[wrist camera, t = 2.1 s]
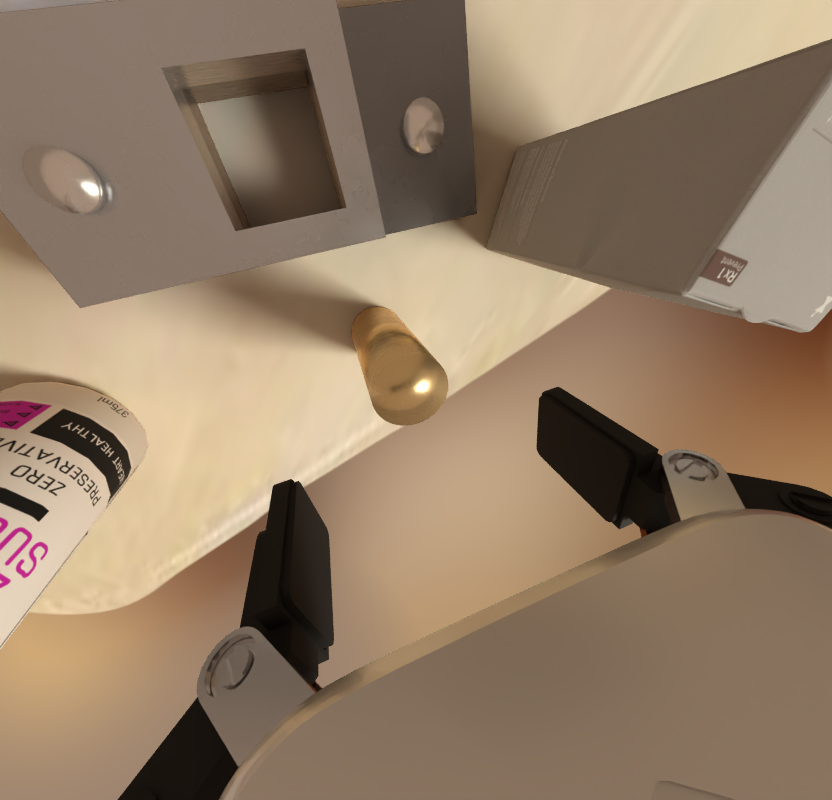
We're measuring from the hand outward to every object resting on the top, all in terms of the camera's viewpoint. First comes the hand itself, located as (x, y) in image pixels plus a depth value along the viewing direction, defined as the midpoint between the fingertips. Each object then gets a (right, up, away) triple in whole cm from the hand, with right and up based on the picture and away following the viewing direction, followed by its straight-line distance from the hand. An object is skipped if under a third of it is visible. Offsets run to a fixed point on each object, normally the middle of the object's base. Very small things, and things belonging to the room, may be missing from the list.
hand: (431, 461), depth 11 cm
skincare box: (+9, +16, +11) cm, 21 cm away
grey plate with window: (-8, +16, +6) cm, 19 cm away
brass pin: (-4, +8, +12) cm, 15 cm away
